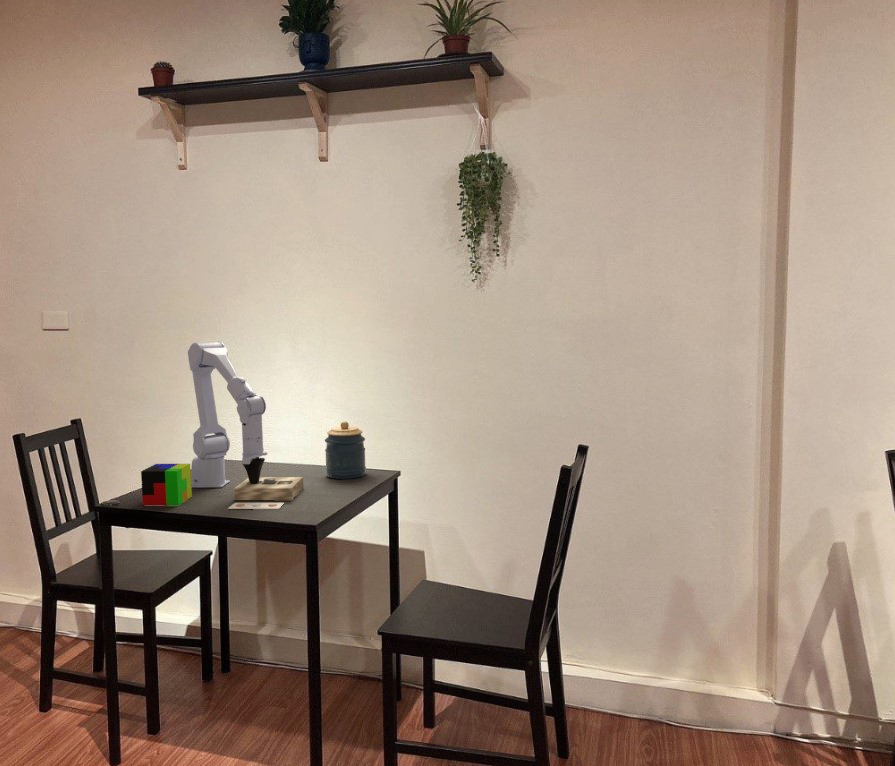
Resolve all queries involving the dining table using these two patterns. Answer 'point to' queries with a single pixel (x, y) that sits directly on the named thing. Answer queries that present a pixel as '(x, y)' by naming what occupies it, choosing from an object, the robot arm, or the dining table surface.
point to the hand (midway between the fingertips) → (254, 483)
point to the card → (256, 506)
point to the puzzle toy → (166, 484)
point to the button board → (269, 489)
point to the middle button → (269, 481)
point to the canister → (345, 452)
